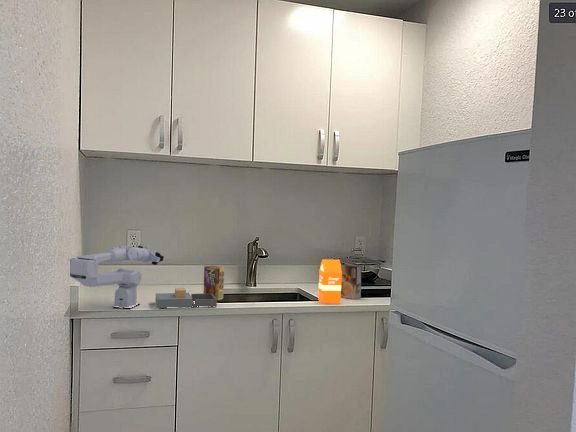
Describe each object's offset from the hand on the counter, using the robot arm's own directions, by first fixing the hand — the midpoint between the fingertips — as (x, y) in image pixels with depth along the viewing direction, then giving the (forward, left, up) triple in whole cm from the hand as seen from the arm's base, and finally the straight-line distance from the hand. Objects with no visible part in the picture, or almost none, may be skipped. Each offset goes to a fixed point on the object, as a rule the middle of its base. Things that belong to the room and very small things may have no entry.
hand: (156, 256), depth 235 cm
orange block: (-10, -16, -15) cm, 25 cm away
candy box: (+7, -26, -20) cm, 33 cm away
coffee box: (+34, -88, -20) cm, 96 cm away
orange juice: (+20, -79, -20) cm, 84 cm away
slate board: (-11, -14, -19) cm, 27 cm away
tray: (-6, -25, -19) cm, 32 cm away
